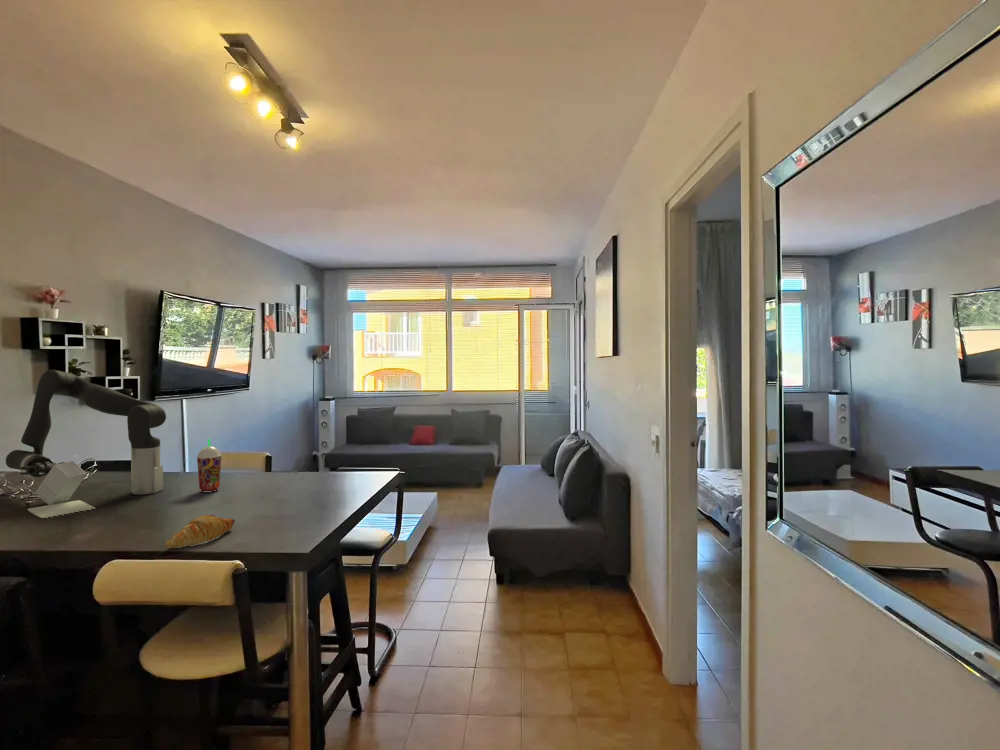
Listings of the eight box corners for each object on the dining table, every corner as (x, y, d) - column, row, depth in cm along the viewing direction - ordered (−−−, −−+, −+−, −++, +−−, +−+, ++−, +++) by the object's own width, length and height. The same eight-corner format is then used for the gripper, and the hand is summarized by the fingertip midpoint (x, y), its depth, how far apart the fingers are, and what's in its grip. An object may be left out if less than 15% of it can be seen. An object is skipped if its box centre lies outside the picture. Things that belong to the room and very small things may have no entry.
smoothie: (214, 493, 201) (214, 440, 201) (192, 493, 201) (191, 440, 201) (226, 488, 210) (225, 437, 209) (205, 488, 210) (204, 437, 209)
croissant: (174, 566, 140) (184, 542, 138) (150, 544, 143) (159, 520, 141) (239, 539, 160) (249, 517, 158) (216, 520, 162) (225, 499, 161)
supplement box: (68, 500, 190) (88, 473, 189) (49, 506, 183) (68, 478, 182) (54, 487, 191) (73, 460, 190) (33, 492, 183) (53, 464, 182)
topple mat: (27, 510, 178) (27, 508, 178) (79, 501, 189) (79, 500, 189) (41, 519, 168) (41, 517, 168) (95, 509, 180) (95, 507, 180)
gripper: (12, 457, 190) (25, 463, 180) (59, 452, 201) (74, 457, 190) (12, 478, 190) (25, 485, 180) (59, 472, 201) (74, 478, 191)
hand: (50, 471), depth 185 cm, fingers closed
